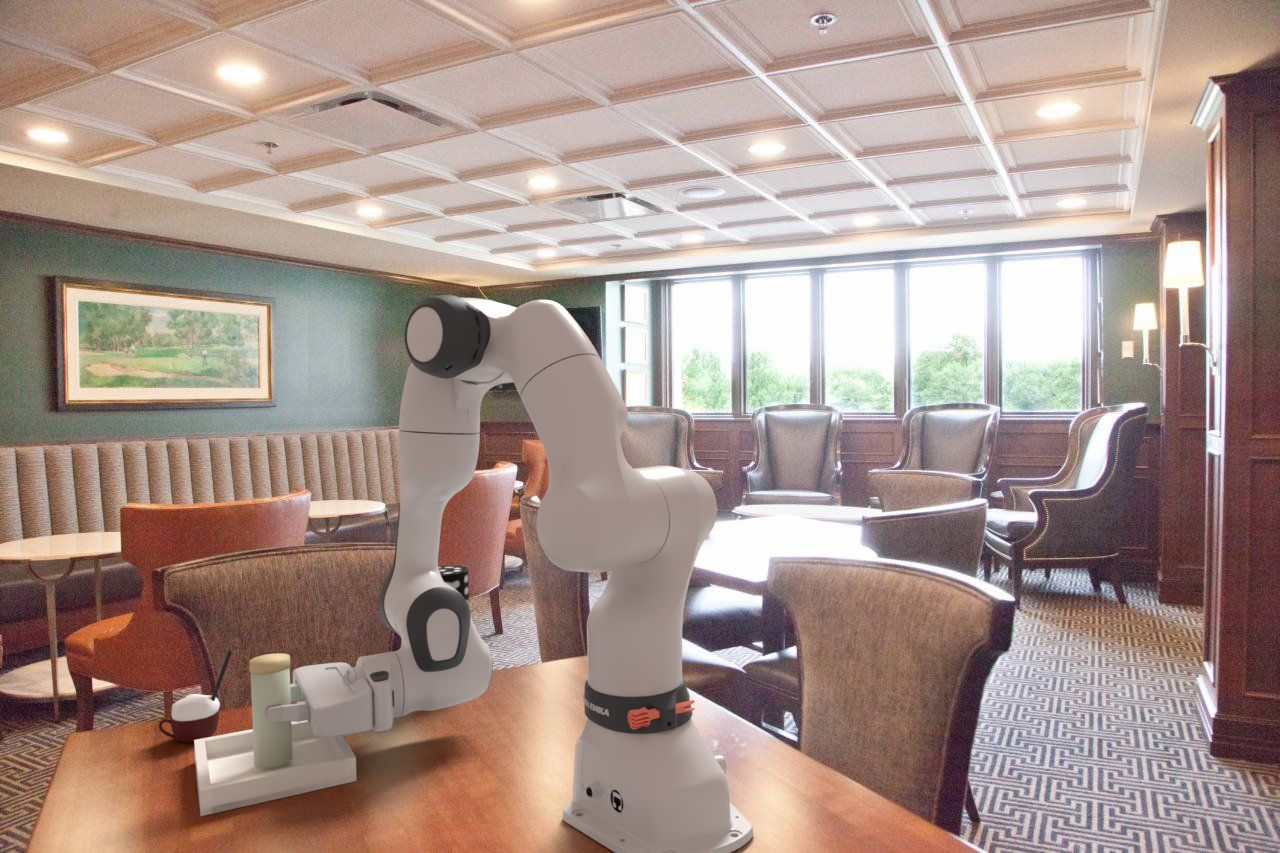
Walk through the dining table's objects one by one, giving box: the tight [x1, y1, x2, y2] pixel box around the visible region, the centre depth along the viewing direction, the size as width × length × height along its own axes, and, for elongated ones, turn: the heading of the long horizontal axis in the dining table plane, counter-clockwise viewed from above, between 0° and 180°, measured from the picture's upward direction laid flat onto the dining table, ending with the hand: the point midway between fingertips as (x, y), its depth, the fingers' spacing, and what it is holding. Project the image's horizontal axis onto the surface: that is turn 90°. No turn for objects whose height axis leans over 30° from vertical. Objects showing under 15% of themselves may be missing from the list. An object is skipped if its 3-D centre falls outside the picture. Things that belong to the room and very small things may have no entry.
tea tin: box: [248, 653, 293, 768], centre depth 110 cm, size 5×5×13 cm
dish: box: [193, 720, 357, 817], centre depth 110 cm, size 17×17×3 cm
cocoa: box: [158, 648, 233, 744], centre depth 122 cm, size 10×6×12 cm, turn 92°
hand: (263, 707), depth 109 cm, fingers closed on tea tin, 4 cm apart
